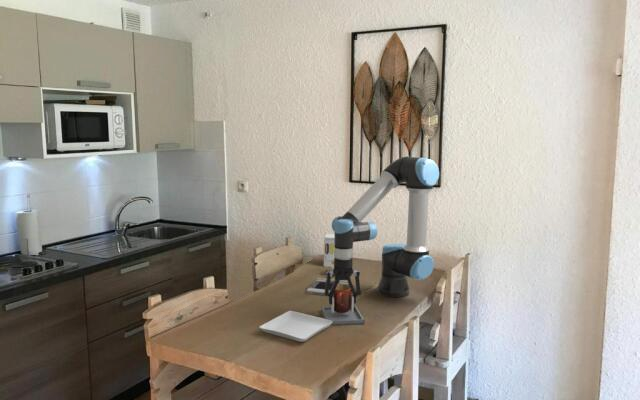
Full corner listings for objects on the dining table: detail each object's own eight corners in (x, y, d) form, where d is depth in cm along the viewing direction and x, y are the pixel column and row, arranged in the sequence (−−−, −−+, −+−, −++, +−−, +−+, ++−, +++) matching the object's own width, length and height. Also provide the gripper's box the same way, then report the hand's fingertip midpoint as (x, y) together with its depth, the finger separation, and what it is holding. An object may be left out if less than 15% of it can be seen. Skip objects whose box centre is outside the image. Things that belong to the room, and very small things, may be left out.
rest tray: (355, 309, 236) (356, 305, 236) (364, 324, 219) (364, 319, 219) (321, 310, 234) (321, 306, 234) (327, 325, 217) (327, 321, 217)
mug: (332, 306, 233) (333, 283, 231) (353, 307, 231) (353, 284, 230) (327, 316, 221) (328, 291, 220) (349, 317, 219) (349, 293, 218)
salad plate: (304, 347, 198) (304, 338, 197) (257, 334, 209) (257, 326, 208) (333, 328, 215) (334, 320, 215) (289, 317, 226) (289, 309, 226)
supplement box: (323, 266, 303) (323, 236, 301) (325, 262, 312) (326, 233, 310) (340, 267, 302) (340, 237, 299) (342, 263, 311) (342, 234, 308)
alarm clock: (351, 281, 266) (341, 288, 251) (350, 291, 267) (341, 298, 251) (317, 278, 272) (306, 284, 256) (317, 287, 272) (306, 294, 257)
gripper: (365, 254, 228) (364, 307, 231) (317, 255, 225) (316, 309, 228) (369, 259, 221) (368, 313, 224) (319, 260, 218) (319, 315, 221)
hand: (342, 311), depth 226 cm, fingers closed on mug, 7 cm apart
